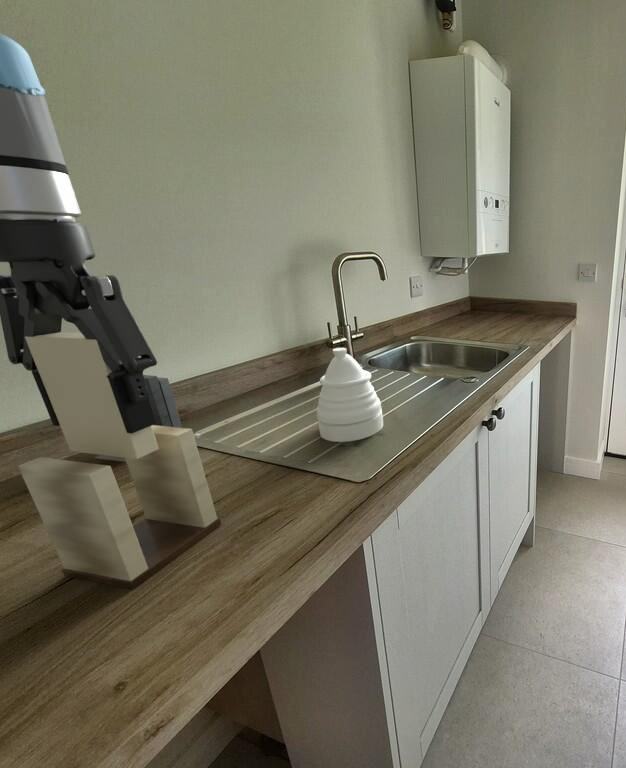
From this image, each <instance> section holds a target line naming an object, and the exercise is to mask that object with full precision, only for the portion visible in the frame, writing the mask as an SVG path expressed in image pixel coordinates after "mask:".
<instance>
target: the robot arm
mask: <svg viewBox="0 0 626 768" xmlns="http://www.w3.org/2000/svg"><path fill="white" fill-rule="evenodd" d="M46 94H47V93H46V90H45V88H44V87H43V86H42V84H41V83H40V80H39V77H38V75H37V72H36V69H35V67H34V64H33V61H32V59H31V57H30V55H29V53H28V52H27V51H26V49H25V48H24V47H23V46H22V45H21V44H19V43H18V42H17V41H16V40H14V39H12V38H10V37H9V36H7V35H5V34H3V33H0V263H8V264H9V268H10V274H0V322H1V327H2V333H3V338H4V343H5V347H6V348H5V349H6V353H7V358H8V360H9V362H10V363H11V364H12V365H19V364H20V365H22V366H23V367H24V369H25V370H26V371H28V372H31V374H32V376H33V379H34V381H35V383H36V386H37V389H38V391H39V394H40V396H41V399H42V401H43V404H44V406H45V408H46V411H47V413H48V416H49V418H50V420H51V421H50V422H51V423H52V425H53V426H56V427H60V424H59V421H58V419H57V416H56V414H55V411H54V409H53V406H52V404H51V401H50V399H49V396H48V394H47V391H46V389H45V386H44V384H43V381H42V379H41V377H40V374H39V372H38V369H37V367H36V364H35V362H34V359H33V356H32V354H31V351H30V349H29V346H28V344H27V341H26V339H25V337H34V336H39V335H46V334H52V333H58V332H62V323H63V320H64V321H65V322H67V323H70V324H73V325H74V326H75V327H76V328H77V330H78V331H79V333H82V334H83V336H84V337H85V338H86V339H89V340H97V343H98V346H99V349H100V352H101V355H102V357H103V360H104V362H105V363H106V365H107V366H108V367H109V368H110V370H111V371H112V372H111V373H109V374H108V376H106V377H107V378H108V380H109V383H110V386H111V388H112V391H113V394H114V397H115V400H116V403H117V406H118V409H119V412H120V415H121V417H122V420H123V423H124V426H125V429H126V432H127V433H135V432H137V431H140V430H142V429H144V428H147V427H149V426H152V425H154V424H157V423H156V420H155V417H154V413H153V410H152V407H151V404H150V401H149V392H148V389H147V387H146V383H145V379H144V376H143V375H144V371H145V370H146V369H149V368H152V367H155V366H157V364H158V361H157V358H156V356H155V355H154V353H153V351H152V348H151V347H150V345H149V343H148V341H147V339H146V338H145V336H144V334H143V332H142V331H141V328H140V327H139V325H138V323H137V321H136V319H135V317H134V316H133V313H132V312H131V310H130V308H129V307H128V304H127V303H126V301H125V299H124V296H123V292H122V289H121V285H120V281H119V279H118V277H117V276H115V275H113V274H111V275H109V274H108V275H92V273H91V272H90V271H89V269H88V268H87V266H86V263H85V261H91V260H93V259H95V257H96V252H95V248H94V247H93V243H92V240H91V237H90V234H89V231H88V228H87V226H84V224H83V223H82V222H81V223H80V222H76V219H75V218H81V216H82V215H83V214H82V211H81V208H80V206H79V205H80V204H79V202H78V200H77V199H78V198H77V195H76V192H75V190H74V188H73V184H72V181H71V178H70V176H69V170H68V168H67V164H66V161H65V158H64V155H63V151H62V148H61V145H60V142H59V139H58V135H57V132H56V128H55V125H54V122H53V119H52V115H51V112H50V109H49V105H48V102H47V99H46ZM120 361H121V362H122V364H121V362H120Z"/></svg>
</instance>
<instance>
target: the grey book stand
mask: <svg viewBox="0 0 626 768" xmlns="http://www.w3.org/2000/svg"><path fill="white" fill-rule="evenodd" d="M143 376H144V379H145V383H146V387H147V389H148V392H149V401H150V404H151V407H152V410H153V413H154V417H155V420H156V423H157V424H154V425H156V426H167V427H177V428H183V425H182V422H181V418H180V416H179V412H178V408H177V405H176V401H175V398H174V394H173V391H172V388H171V384H170V380H169V378H168V377H158V376H157V375H148V374H143ZM93 459H97V460H106V461H115V462H121V463H122V462H123V463H126V460H125V458H124V457H115V456H107V455H96V456H94V457H93Z"/></svg>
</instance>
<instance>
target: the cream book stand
mask: <svg viewBox="0 0 626 768" xmlns="http://www.w3.org/2000/svg"><path fill="white" fill-rule="evenodd" d="M152 429H153V433H154V436H155V439H156V442H157V445H158V448H159V449H158V450H156V451H154V452H152V453H150V454H147V455H145V456H143V457H141V458H139V459H132V458H125V460H126V462H125V463H126V466H127V468H128V471H129V474H130V478H131V480H132V483H133V485H134V489H135V491H136V494H137V497H138V500H139V503H140V505H141V509H142V512H143V514H144V516H145V517H144V519H142V520H141V521H139V522H137V523H136V524H134V525H133V523H132V520H131V518H130V515H129V512H128V510H127V506H126V504H125V501H124V499H123V496H122V493H121V491H120V488H119V485H118V482H117V480H116V477H115V475H114V472H113V469H112V466H111V465H107V464H99V463H92V462H91V463H90V462H83V461H76V460H67V459H66V460H65V459H58V458H50V457H44V456H39V457H38V458H35V459H32V460H30V461H26V462H24V463H22V464H19V465H17V468H18V470H19V472H20V474H21V477H22V479H23V481H24V483H25V485H26V488H27V490H28V492H29V494H30V496H31V499H32V500H33V503H34V505H35V507H36V510H37V512H38V514H39V516H40V518H41V520H42V523H43V525H44V527H45V529H46V531H47V534H48V536H49V538H50V540H51V543H52V545H53V547H54V549H55V551H56V554H57V556H58V558H59V560H60V563H61V564H62V567H63V568H62V569H61V571H62V574H63V576H64V577H68V578H72V579H78V580H83V581H89V582H94V583H99V584H104V585H108V586H113V587H119V588H124V589H130V590H135V589H137V588H138V587H139V586H141V585H142V584H143V583H144V582H146V581H147V580H149V579H150V578H151V577H153V576H154V575H155V574H156V573H158V572H159V571H160V570H162V569H163V568H165V567H166V566H167V565H169V564H170V563H172V562H173V561H174V560H175V559H177V558H178V557H180V556H181V555H182V554H184V553H185V552H186V551H187V550H188V551H189V549H190V548H191V547H193V546H194V545H196V544H198V542H200V541H201V540H203V539H205V537H206V536H208V535H209V534H211V533H213V531H215V530H216V529H217V528H218V527H220V526H221V525H222V522H221V518H218V516H217V512H216V509H215V506H214V502H213V498H212V494H211V492H210V488H209V485H208V480H207V477H206V474H205V471H204V470H205V469H204V466H203V463H202V460H201V457H200V453H199V450H198V446H197V442H196V439H195V435H194V431H193V429H192V428H187V427H186V428H185V427H182V428H177V427H167V426H156V425H152Z"/></svg>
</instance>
